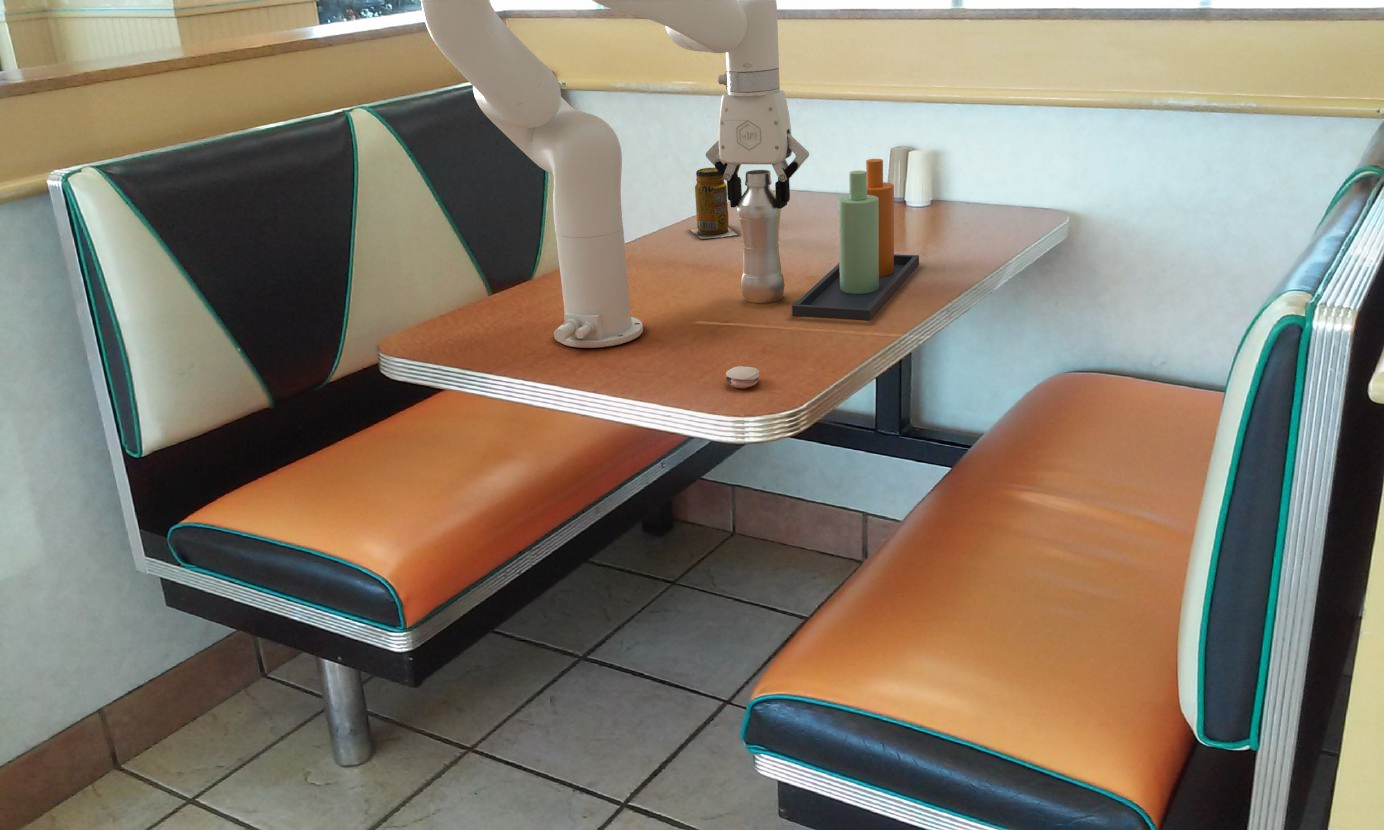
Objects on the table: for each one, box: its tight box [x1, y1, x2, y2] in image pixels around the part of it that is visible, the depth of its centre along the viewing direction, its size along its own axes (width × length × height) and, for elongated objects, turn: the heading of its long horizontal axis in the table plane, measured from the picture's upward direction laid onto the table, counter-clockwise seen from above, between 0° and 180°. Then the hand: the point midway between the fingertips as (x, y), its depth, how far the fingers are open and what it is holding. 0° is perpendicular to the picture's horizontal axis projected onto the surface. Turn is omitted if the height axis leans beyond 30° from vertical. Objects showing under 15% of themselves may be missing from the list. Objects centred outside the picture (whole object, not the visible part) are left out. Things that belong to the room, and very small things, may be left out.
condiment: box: [690, 167, 738, 240], centre depth 222 cm, size 7×8×12 cm
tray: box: [791, 253, 920, 322], centre depth 182 cm, size 31×12×2 cm, turn 157°
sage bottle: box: [837, 170, 879, 294], centre depth 178 cm, size 6×6×18 cm
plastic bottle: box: [736, 169, 786, 305], centre depth 177 cm, size 6×7×20 cm
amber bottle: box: [865, 158, 895, 277], centre depth 186 cm, size 6×6×18 cm
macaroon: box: [725, 365, 760, 389], centre depth 147 cm, size 4×5×2 cm
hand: (758, 205), depth 175 cm, fingers closed on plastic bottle, 6 cm apart
